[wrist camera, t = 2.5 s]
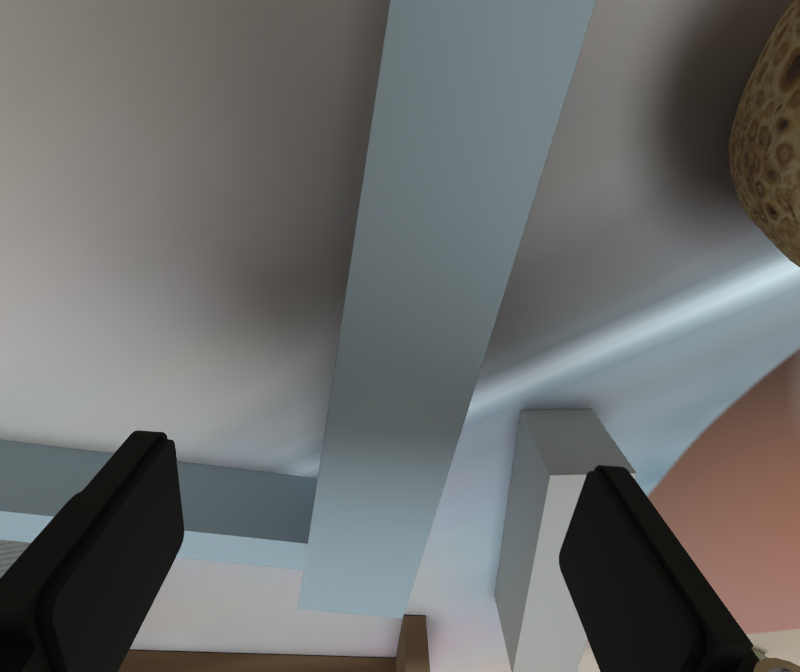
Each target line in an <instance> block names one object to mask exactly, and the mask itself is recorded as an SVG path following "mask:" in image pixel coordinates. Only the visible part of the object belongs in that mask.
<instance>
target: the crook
mask: <svg viewBox="0 0 800 672" xmlns="http://www.w3.org/2000/svg"><path fill="white" fill-rule="evenodd" d="M595 2H596V0H390V6H389V12H388V19H387V26H386V32H385V39H384V45H383V52H382V59H381V65H380V72H379V78H378V85H377V92H376V98H375V105H374V111H373V118H372V124H371V131H370V138H369V144H368V151H367V157H366V164H365V171H364V177H363V184H362V190H361V197H360V204H359V210H358V217H357V223H356V230H355V236H354V243H353V250H352V256H351V263H350V269H349V276H348V283H347V289H346V296H345V302H344V309H343V316H342V322H341V329H340V335H339V342H338V349H337V355H336V362H335V368H334V375H333V381H332V388H331V395H330V401H329V408H328V414H327V421H326V428H325V434H324V441H323V447H322V454H321V461H320V467H319V474H318V479H317V478H309V477H300V476H292V475H284V474H276V473H268V472H260V471H251V470H243V469H235V468H227V467H219V466H211V465H203V464H194V463H186V462H178V461H177V468H178V477H179V486H180V495H181V503H182V512H183V521H184V538H183V542H182V545H181V548H180V550H179V552H178V554H177V556H176V557H178V558H188V559H198V560H208V561H218V562H228V563H238V564H248V565H258V566H268V567H278V568H288V569H298V570H304V573H303V579H302V586H301V592H300V599H299V606H298V609H305V610H316V611H327V612H338V613H349V614H360V615H371V616H382V617H394V618H403V615H404V612H405V608H406V605H407V602H408V599H409V596H410V593H411V589H412V586H413V583H414V580H415V577H416V573H417V570H418V567H419V564H420V561H421V557H422V554H423V551H424V548H425V545H426V541H427V538H428V535H429V532H430V529H431V525H432V522H433V519H434V516H435V513H436V510H437V506H438V503H439V500H440V497H441V494H442V490H443V487H444V484H445V481H446V478H447V474H448V471H449V468H450V465H451V462H452V458H453V455H454V452H455V449H456V446H457V443H458V439H459V436H460V433H461V430H462V427H463V423H464V420H465V417H466V414H467V411H468V407H469V404H470V401H471V398H472V395H473V391H474V388H475V385H476V382H477V379H478V375H479V372H480V369H481V366H482V363H483V360H484V356H485V353H486V350H487V347H488V344H489V340H490V337H491V334H492V331H493V328H494V324H495V321H496V318H497V315H498V312H499V308H500V305H501V302H502V299H503V296H504V293H505V289H506V286H507V283H508V280H509V277H510V273H511V270H512V267H513V264H514V261H515V257H516V254H517V251H518V248H519V245H520V241H521V238H522V235H523V232H524V229H525V225H526V222H527V219H528V216H529V213H530V210H531V206H532V203H533V200H534V197H535V194H536V190H537V187H538V184H539V181H540V178H541V174H542V171H543V168H544V165H545V162H546V158H547V155H548V152H549V149H550V146H551V143H552V139H553V136H554V133H555V130H556V127H557V123H558V120H559V117H560V114H561V111H562V107H563V104H564V101H565V98H566V95H567V91H568V88H569V85H570V82H571V79H572V75H573V72H574V69H575V66H576V63H577V60H578V56H579V53H580V50H581V47H582V44H583V40H584V37H585V34H586V31H587V28H588V24H589V21H590V18H591V15H592V12H593V8H594V5H595ZM113 455H114V454H113V453H105V452H96V451H88V450H80V449H72V448H64V447H56V446H48V445H39V444H31V443H23V442H15V441H7V440H0V540H9V541H19V542H29V543H32V542H33V540H34V539H35V538H36V537H37V536H38V535H39V534H40V532H41V531H42V530H43V529H44V528H45V527H46V526H47V524H48V523H49V522H50V521H51V520H52V519H53V518H54V517H55V515H56V514H57V513H58V512H59V511H60V510H61V509H62V507H63V506H64V505H65V504H66V503H67V502H68V501H69V500H70V499H71V498H72V497H73V496H74V495H75V494H77V493H79V492H81V491H82V490H83V489H84V488H85V487H86V486H87V485H88V483H89V482H90V481H91V480H92V479H93V478H94V477H95V475H96V474H97V473H98V472H99V471H100V470H101V468H102V467H103V466H104V465H105V464H106V463H107V461H108V460H109V459H110V458H111V457H112V456H113Z"/></svg>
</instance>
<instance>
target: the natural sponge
mask: <svg viewBox="0 0 800 672" xmlns="http://www.w3.org/2000/svg"><path fill="white" fill-rule="evenodd" d="M729 159H730V176H731V179H732V181H733V184H734V187H735V190H736V193H737V196H738V199H739V202H740V205H741V207H742V208H743V210H744V211H745V212H746V214H747V215H748V217H749V218H750V219H751V220H752V221H753V222H754V223H755V224H756V225H757V226H758V227H759V228H760V229H761V230H762V232H763V233H764V234H765V235H766V236H767V237H768V238H769V239H770V240H771V241H772V242H773V243H774V244H775V246H776V247H777V248H778V249H779V250H780V251H781V252H782V253H783V254H784V255H785V256H786V257H787V258H788V259H789V260H790V261H792V262H793V263H795V264H796V265H798V266H799V267H800V0H793V2H792V3H791V4H790V6H789V7H788V8H787V10H786V11H785V12H784V14H783V15H782V16H781V18H780V19H779V20H778V22H777V23H776V25H775V27H774V29H773V31H772V33H771V35H770V37H769V39H768V41H767V43H766V45H765V47H764V49H763V51H762V53H761V55H760V57H759V59H758V61H757V63H756V65H755V67H754V69H753V71H752V73H751V75H750V77H749V79H748V82H747V84H746V86H745V88H744V91H743V94H742V96H741V99H740V102H739V105H738V109H737V112H736V115H735V119H734V122H733V126H732V130H731V135H730V140H729Z"/></svg>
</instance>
